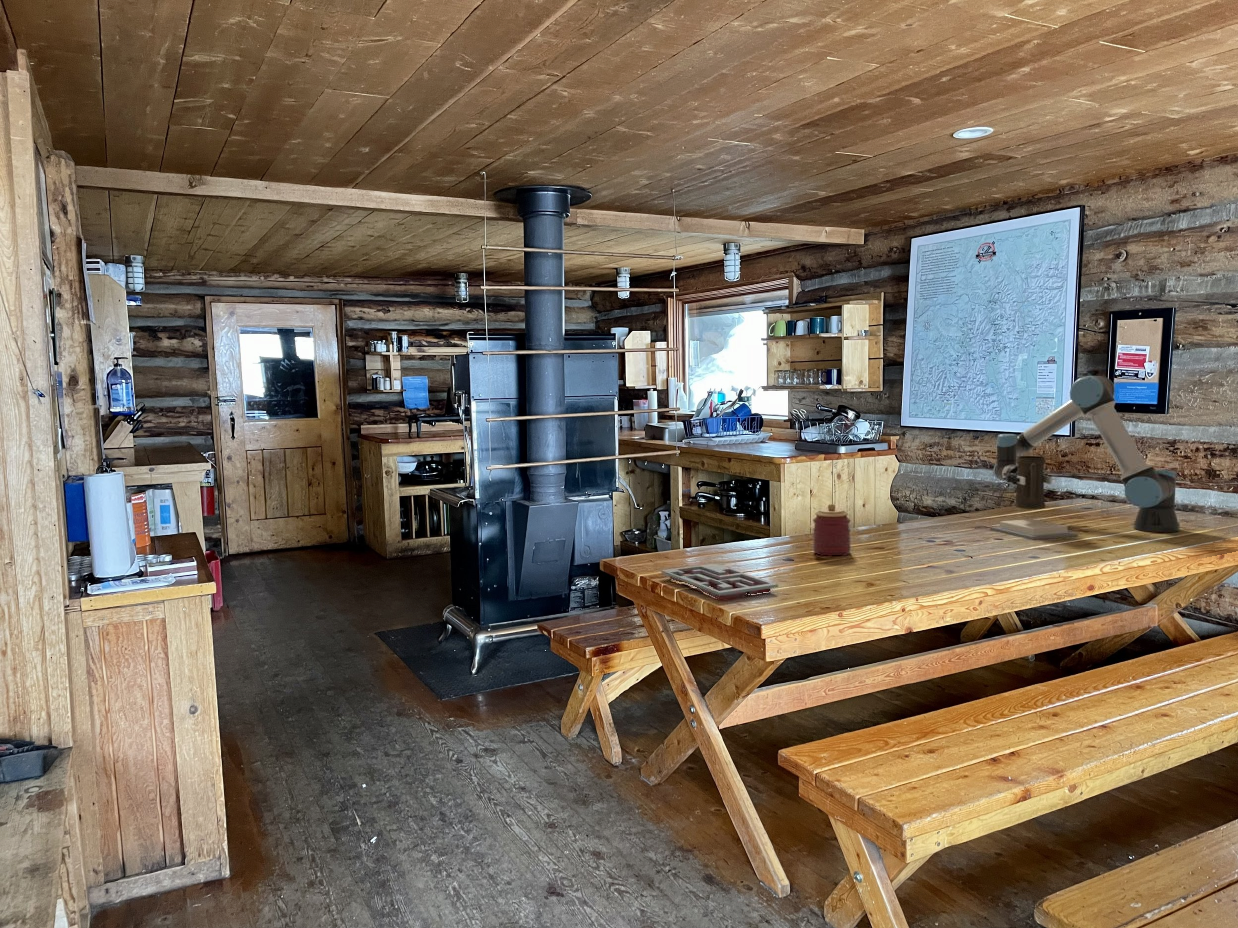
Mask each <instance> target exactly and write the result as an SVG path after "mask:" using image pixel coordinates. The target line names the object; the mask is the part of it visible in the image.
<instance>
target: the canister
mask: <svg viewBox="0 0 1238 928" xmlns="http://www.w3.org/2000/svg"><path fill="white" fill-rule="evenodd" d="M814 515H815V516H816V517H815V518H813V519H812V521H813V523H814V527H813V528H812V532H813V545H812V550H813V553H814V552H815V553H817V554H816V555H818V554H821V555H820V556H823V555H828V556H827V557H833V556H832V555H843V556H846V555H845V554H848V555H850V554H849V553H851V548H852V546H851V528H850V523H851V521H852V520H851V519H850V518H849V517H848V516H849V513H848V512H846V511H845V510H844V509H840V508H836V505H835V504H834V503H829V504H828V506H827V508H821V509H819V510H818V511H817V512H815V513H814ZM815 553H814V554H815Z"/></svg>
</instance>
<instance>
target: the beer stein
mask: <svg viewBox="0 0 1238 928" xmlns="http://www.w3.org/2000/svg"><path fill="white" fill-rule="evenodd" d="M1016 464H1017V465H1018V475H1017V476H1021V477H1025V485H1022V484H1019V483H1017V485H1016V493H1015V494H1016V495H1015V503H1014V507H1015V508H1018V509H1024V510H1041V509H1045V508H1046V503H1045V500H1046V497H1045V491H1044V490H1045V485H1044V484H1045V483H1044V481H1043V474H1044V465H1045V464H1046V459H1045V457H1044V456H1036V455H1019V456H1017V461H1016Z"/></svg>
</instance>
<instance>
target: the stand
mask: <svg viewBox="0 0 1238 928" xmlns="http://www.w3.org/2000/svg"><path fill="white" fill-rule="evenodd" d="M989 530H990V531H993V530H994V531H995V532H999V533H1003V534H1007V535H1010V536H1011V535H1012V536H1016V537H1018V538H1023V539H1028V540H1044V539H1047V540H1048V539H1057V538H1069V537H1070V536H1071V537H1079V533H1077V532H1074V531H1073V532H1072V531H1069V530H1068V526H1067V525H1065V524H1064V525H1063V524H1058V523H1053V522H1049V521H1044V520H1038V519H1034V518H1030V519H1029V518H1028V519H1016V520H1014V519H1013V520H1003V521H1002V520H1001V521H999V526H991V527H989ZM1071 537H1070V538H1071Z"/></svg>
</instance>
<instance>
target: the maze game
mask: <svg viewBox="0 0 1238 928" xmlns="http://www.w3.org/2000/svg"><path fill="white" fill-rule="evenodd" d="M660 571H661V574H663V575H667V576H668V577H669V579H670V578H671V579H673V580H676V581H679V582H685V583H688V584H690V585H693V586H695V587H697V588H700V589H701V590H702V591H703V592H705V593H707V594H709V595H711V596H713V597H715V598H717V599H719V600H721V601H725V600H724V599H728V600H733V599H732V598H734V599H739V598H738V597H741V598H743V597H742V596H746V597H747V595H746V593H747V594H750V595H751V594H757V593H763V592H769V591H770V592H771V589H773V588H774V589H775V588H778V587H779V583H775V582H772V581H770V580H767V579H762V578H761V577H756V576H754V575H751V574H748V573H745V572H741V571H740V570H736V569H734V568H730V567H727V566H724V565H721V564H718V563H709V564H708V563H707V564H701V565H700V564H699V565H693V566H685V567H677V568H669V569H662V570H660ZM684 574H692V575H686V576H684ZM709 586H711V587H713V588H710V587H709ZM719 600H718V601H719Z"/></svg>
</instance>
